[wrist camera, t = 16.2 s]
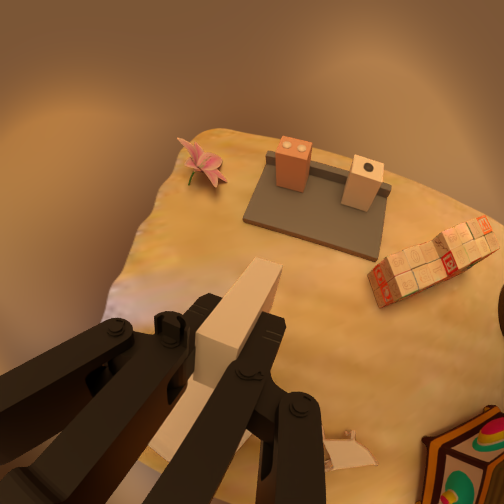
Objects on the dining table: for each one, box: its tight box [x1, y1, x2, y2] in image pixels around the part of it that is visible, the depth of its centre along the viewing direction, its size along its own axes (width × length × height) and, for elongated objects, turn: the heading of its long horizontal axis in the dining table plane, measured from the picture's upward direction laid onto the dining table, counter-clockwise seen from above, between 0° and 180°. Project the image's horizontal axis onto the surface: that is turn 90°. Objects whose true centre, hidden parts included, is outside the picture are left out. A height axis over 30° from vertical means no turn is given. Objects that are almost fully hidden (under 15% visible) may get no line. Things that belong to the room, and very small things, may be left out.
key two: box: [275, 136, 312, 193], centre depth 44 cm, size 5×4×9 cm
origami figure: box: [322, 426, 379, 472], centre depth 30 cm, size 12×8×5 cm
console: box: [243, 151, 391, 262], centre depth 46 cm, size 24×14×4 cm, turn 70°
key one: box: [341, 155, 384, 212], centre depth 41 cm, size 5×4×9 cm
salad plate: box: [148, 374, 252, 462], centre depth 36 cm, size 21×21×3 cm
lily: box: [177, 138, 227, 187], centre depth 49 cm, size 12×12×10 cm
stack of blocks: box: [368, 215, 500, 308], centre depth 36 cm, size 21×6×12 cm, turn 104°
